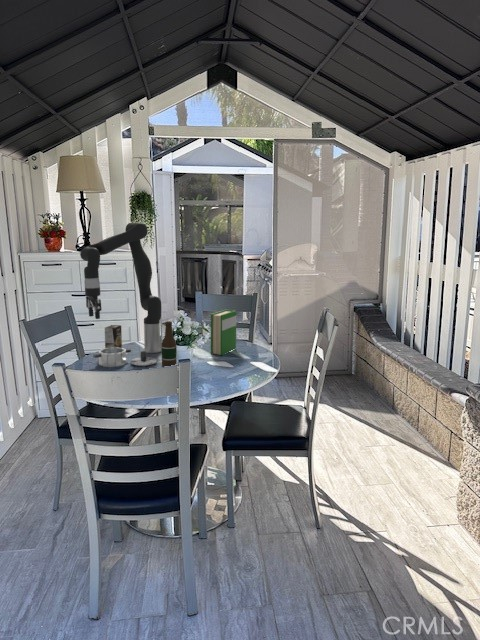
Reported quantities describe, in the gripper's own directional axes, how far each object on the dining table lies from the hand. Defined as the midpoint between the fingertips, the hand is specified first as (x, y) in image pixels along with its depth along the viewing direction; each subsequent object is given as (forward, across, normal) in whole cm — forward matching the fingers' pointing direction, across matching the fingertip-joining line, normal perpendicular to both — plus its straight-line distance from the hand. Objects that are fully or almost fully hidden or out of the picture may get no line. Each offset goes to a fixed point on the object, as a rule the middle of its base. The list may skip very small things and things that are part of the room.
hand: (94, 317), depth 240 cm
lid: (+26, -14, -20) cm, 35 cm away
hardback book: (+27, -20, -69) cm, 77 cm away
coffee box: (+26, +14, -16) cm, 33 cm away
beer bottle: (+26, -26, -28) cm, 47 cm away
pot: (+25, -4, -7) cm, 27 cm away
